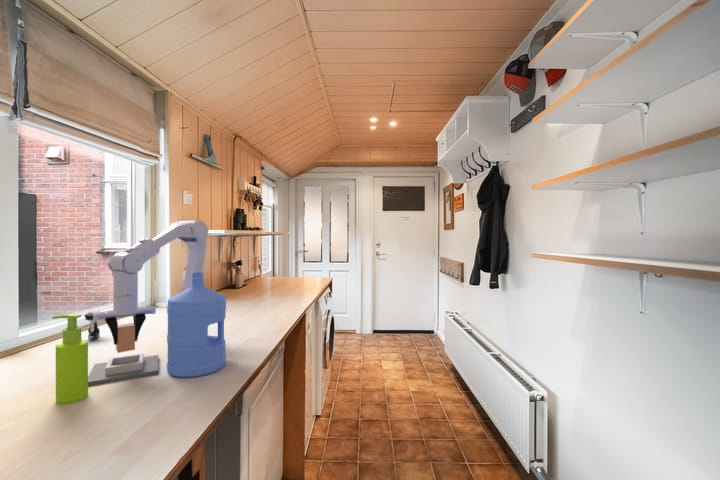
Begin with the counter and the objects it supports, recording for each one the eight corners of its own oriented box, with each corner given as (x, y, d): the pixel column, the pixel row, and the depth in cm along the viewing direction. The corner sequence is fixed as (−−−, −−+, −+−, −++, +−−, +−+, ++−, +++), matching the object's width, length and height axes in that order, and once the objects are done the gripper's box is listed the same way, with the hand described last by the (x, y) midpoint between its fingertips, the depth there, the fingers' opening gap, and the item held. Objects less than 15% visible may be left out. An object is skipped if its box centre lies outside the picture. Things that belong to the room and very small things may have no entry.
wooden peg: (132, 346, 100) (132, 322, 100) (134, 349, 97) (134, 325, 97) (116, 349, 98) (116, 325, 98) (117, 352, 95) (117, 327, 95)
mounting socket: (158, 358, 107) (158, 348, 107) (157, 374, 95) (157, 363, 95) (94, 367, 99) (94, 357, 99) (85, 386, 87) (85, 374, 87)
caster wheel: (98, 340, 123) (98, 313, 123) (80, 342, 121) (80, 314, 121) (104, 335, 130) (104, 309, 129) (87, 337, 127) (87, 310, 127)
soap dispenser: (64, 392, 84) (63, 311, 83) (93, 391, 84) (93, 311, 84) (44, 404, 78) (43, 317, 78) (76, 403, 78) (76, 317, 78)
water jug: (164, 382, 90) (164, 277, 90) (169, 362, 104) (169, 271, 104) (227, 373, 97) (228, 275, 96) (223, 355, 111) (224, 269, 110)
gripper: (152, 290, 105) (152, 334, 105) (92, 295, 95) (92, 343, 95) (157, 293, 100) (157, 339, 100) (94, 299, 90) (94, 350, 90)
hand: (125, 342), depth 97 cm, fingers closed on wooden peg, 4 cm apart
